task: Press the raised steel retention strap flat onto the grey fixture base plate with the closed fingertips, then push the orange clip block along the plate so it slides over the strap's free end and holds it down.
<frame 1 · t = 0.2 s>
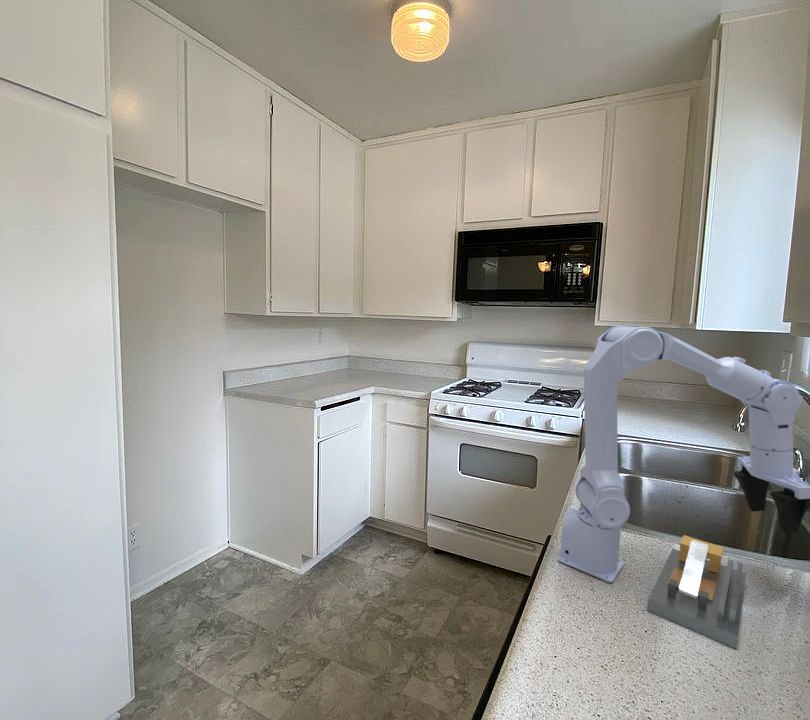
hand: (772, 520, 75), 11 cm above the counter, tool pointing down, fingers open, 7 cm apart
clip: (700, 553, 76), point 4 cm above the counter, slide at 0.0 cm
strap: (694, 567, 69), point 5 cm above the counter, hinge at 22.0°
grey fixture base plate: (698, 596, 70), on the counter
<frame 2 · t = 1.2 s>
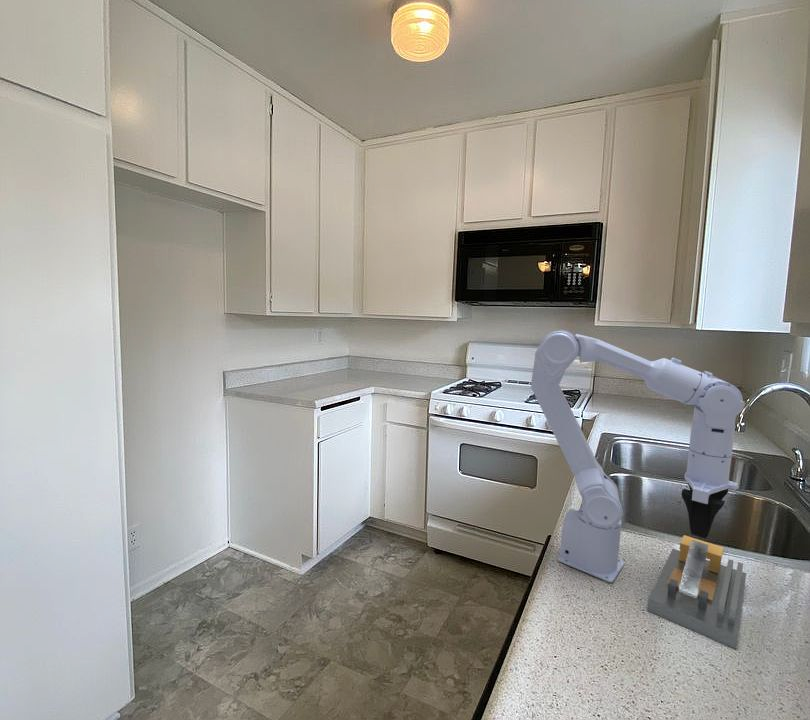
hand: (700, 530, 71), 10 cm above the counter, tool pointing down, fingers open, 4 cm apart
nothing on the counter moved.
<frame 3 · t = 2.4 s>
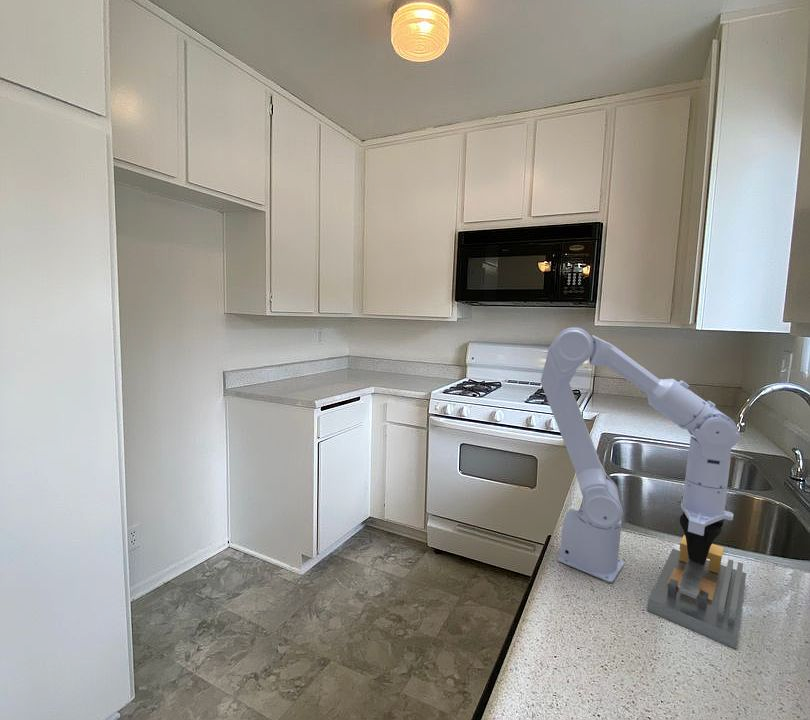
hand: (697, 558, 71), 5 cm above the counter, tool pointing down, fingers closed
strap: (693, 571, 70), point 4 cm above the counter, hinge at 14.0°, touching gripper
everything else where it was.
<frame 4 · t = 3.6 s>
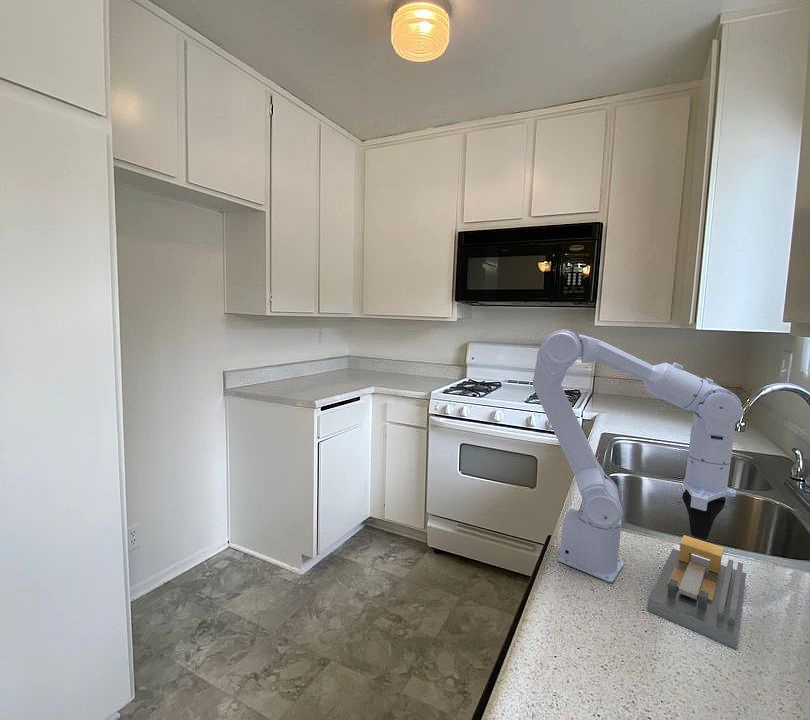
hand: (699, 536, 71), 9 cm above the counter, tool pointing down, fingers closed
strap: (693, 578, 70), point 3 cm above the counter, hinge at -0.5°
everything else where it was.
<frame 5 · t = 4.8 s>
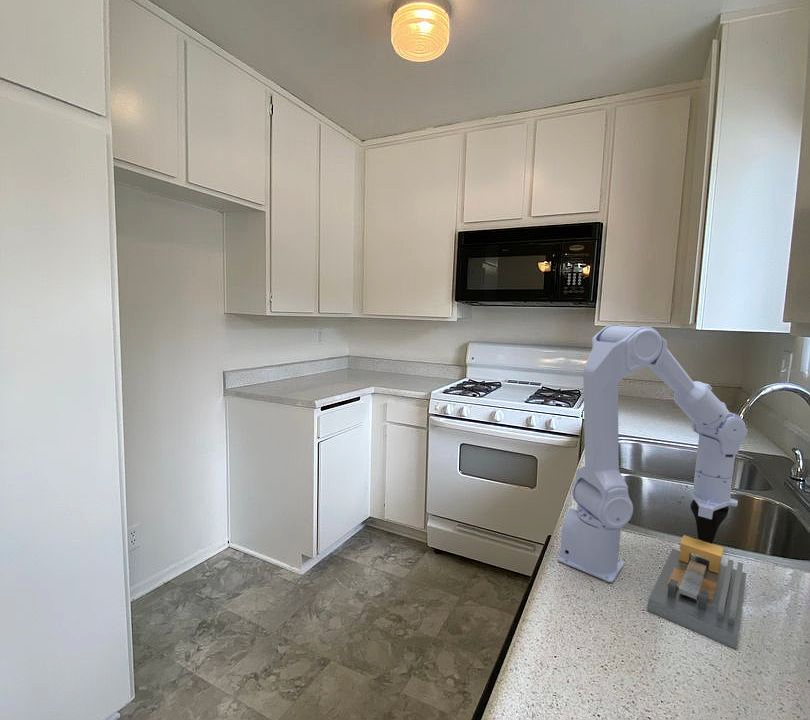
hand: (705, 541, 81), 3 cm above the counter, tool pointing down, fingers closed
nothing on the counter moved.
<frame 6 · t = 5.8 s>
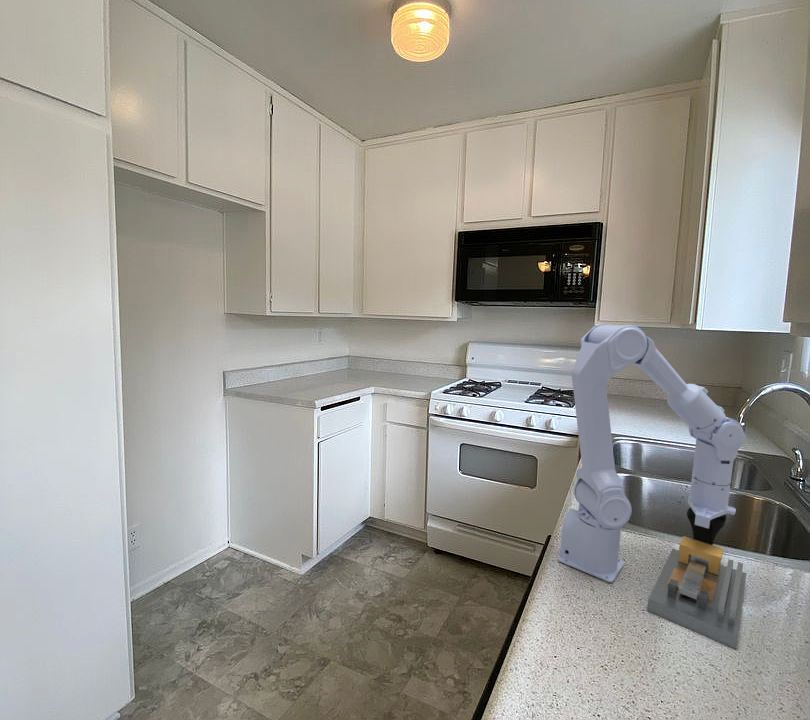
hand: (702, 550, 78), 3 cm above the counter, tool pointing down, fingers closed
clip: (700, 554, 76), point 4 cm above the counter, slide at 0.5 cm, touching gripper
everything else where it was.
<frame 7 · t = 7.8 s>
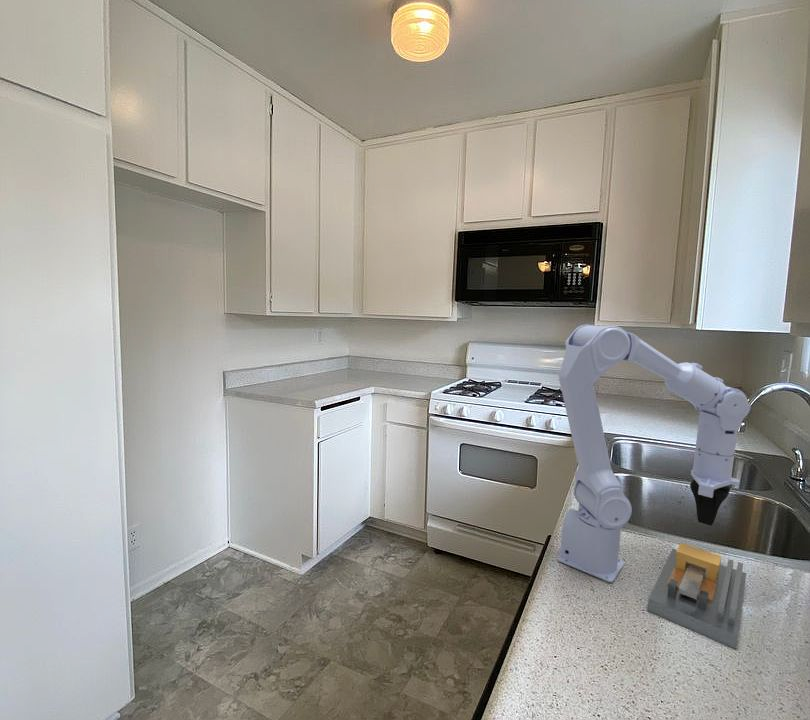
hand: (705, 522, 78), 8 cm above the counter, tool pointing down, fingers closed
clip: (697, 562, 73), point 4 cm above the counter, slide at 3.7 cm
everything else where it was.
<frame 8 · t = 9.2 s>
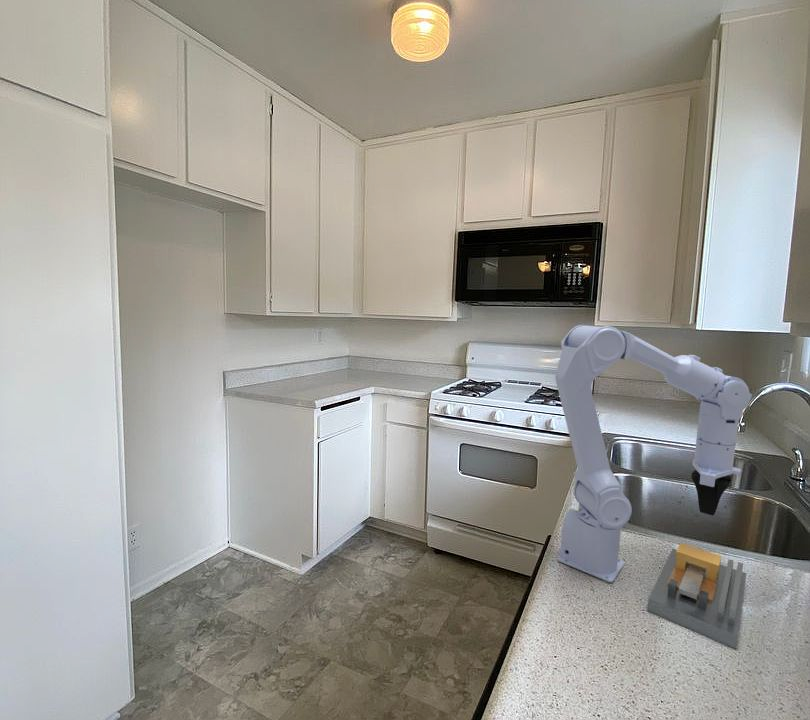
hand: (707, 512, 78), 10 cm above the counter, tool pointing down, fingers closed
nothing on the counter moved.
at the end: strap at +0° (first picture: +22°); clip slide at 3.7 cm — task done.
